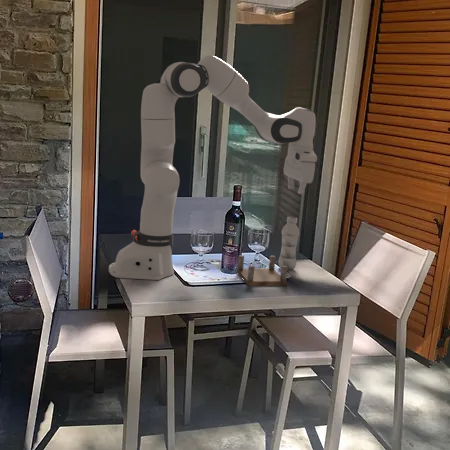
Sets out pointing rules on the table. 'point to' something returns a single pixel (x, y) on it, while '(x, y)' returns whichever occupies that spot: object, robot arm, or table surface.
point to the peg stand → (262, 274)
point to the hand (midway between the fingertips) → (295, 191)
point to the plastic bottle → (289, 244)
